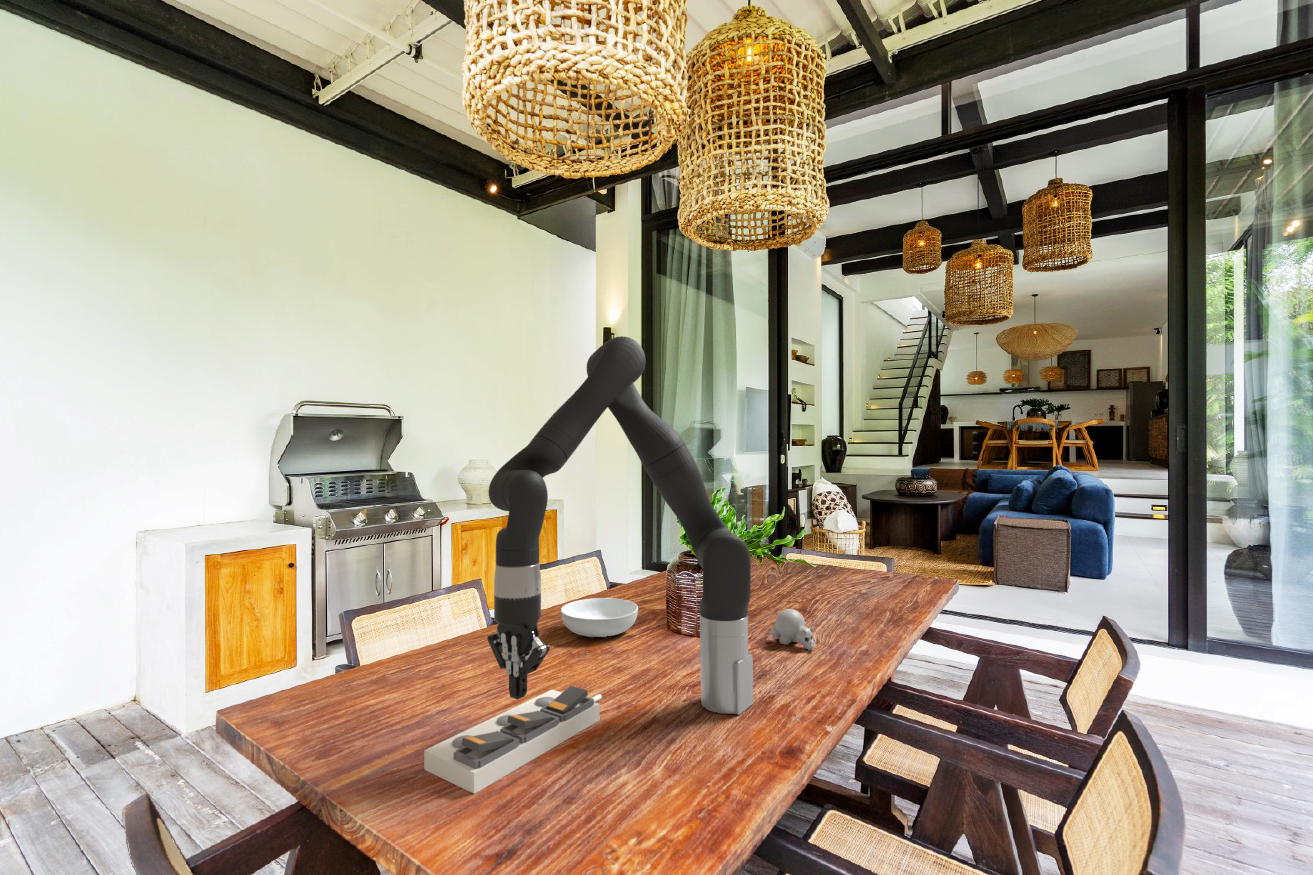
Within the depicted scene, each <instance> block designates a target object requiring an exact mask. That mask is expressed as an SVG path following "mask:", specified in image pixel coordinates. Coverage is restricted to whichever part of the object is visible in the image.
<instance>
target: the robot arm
mask: <svg viewBox="0 0 1313 875" xmlns="http://www.w3.org/2000/svg"><path fill="white" fill-rule="evenodd" d="M646 364H647V363H646V354H645V352H644V350H643V347H642V346H641V345H640V343H639V342H637V341H636V340H635V339H633V338H631V337H630V336H616V337H612V338H610V339H609V340H607V341H606V342H604V343H603V344H602V345H600V346H599V347H598V348H597V349H596V350H595V351H594V352H593V353H592V354H591V355H590V356H589V358H588V359H587V363H586V374H587V377H586V379H585V380H584V381H583V382H582V384H581V385H580V386H579V387H578V388H577V389H576V390H575V391H574V393H573V394H572V395H571V396H570V397H569V398H568V399H567V400H566V401H565V402H564V403H562V404H561V405H560V406H559V408H558V409H557V410H556V411H555V412H554V413H553V414H551V416H550V418H548V420H547V421H546V422H545V423H544V424H543V425H542V427H541V428H540V429H539V430H538V431H537V432H536V434H535V435H534V436H533V438H532V439H531V440H530V441H529V443H528V444H527V445H526V446H525V447H524V448H522V449H521V450H520V451H519V452H517V453H516V454H515V455H514V456H512V457H511V458H510V459H509V460H508V461H507V462H505V464H503V465H502V466H501V467H500V468H499V469H498V470H497V471H496V473H495V474H494V476H493V477H492V479H491V480H490V482H489V486H488V498H489V501H490V503H491V504H492V505H493V506H494V507H495V508H497V509H499V510H501V511H504V512H508V515H507V522H506V527H503V528H501V529H500V530H498V532H497V534H496V537H495V538H496V539H495V570H494V577H493V578H494V579H493V583H494V584H493V594H494V595H493V597H494V598H493V600H494V601H493V602H494V603H493V619H494V621H495V622H496V623H497V625H496V631H495V632H493V634H489V635H487V637H486V638H487V642H488V644H489V647H490V649H491V651H492V653H493V656H494V657H495V660H496V662H497V665H498V667H499V668H500V669H501V670H502V669H505V672H506V674H507V675H508V692H509V697H510V698H512V699H515V700H520V699H522V698H524V697H525V696H526V695H527V692H528V674H531V673H533V672H536V671H537V670H538V668H539V667H540V666H541V663H542V662H543V660H544V659H545V658H546V656H547V654H548V653H549V652H550V649H551V647H550V645H549V643H543V642H542V641H541V639H540V638H539V637H540V631H539V627H538V622H539V620H540V618H541V616H542V574H541V568H540V567H541V566H540V565H541V564H540V537H541V533H542V532H541V531H542V529H543V524H544V520H545V517H546V512H547V507H548V501H549V500H548V499H549V498H548V497H549V496H548V495H549V494H548V487H547V484H546V481H545V480H544V478H545V477H546V476H549V475H551V474H555V473H557V472H558V471H560V470H561V469H562V468H563V467H564V466H565V464H566V463H567V462H568V461H569V459H570V458H571V456H572V455H573V454H574V453H575V451H576V450H577V449H578V447H579V446H580V445H581V443H582V442H583V441H584V439H585V437H586V436H587V435H588V434H589V432H590V430H591V429H592V428H593V427H594V426H595V424H596V423H597V421H598V420H599V419H600V417H601V416H602V415H603V414H604V412H605V411H606V410H607V409H608V410H609V411H610V413H611V414H612V415H613V417H614V418H615V419H616V421H617V422H618V425H619V426H620V428H621V430H622V431H623V433H624V435H625V436H626V438H627V440H628V441H629V443H630V445H631V446H632V448H633V449H634V451H635V454H636V455H637V456H638V459H639V461H640V462H641V464H642V466H643V468H644V470H645V471H646V473H647V475H648V477H649V478H650V480H651V482H652V483H653V485H654V487H655V488H656V489H657V492H658V493H659V494H660V496H661V497H662V499H663V500H664V502H665V503H666V504H667V506H668V507H669V509H671V511H672V512H673V514H674V515H675V517H676V518H677V519H678V521H679V523H680V525H681V527H682V529H683V531H684V533H685V534H686V537H687V539H688V541H689V544H690V545H691V547H692V551H693V553H694V554H695V557H696V560H697V563H698V565H699V566H700V568H701V569H702V596H701V599H700V601H699V639H700V641H699V642H700V643H699V645H700V646H699V648H700V656H699V657H700V700H701V702H700V703H701V705H702V707H703V708H704V707H705V708H706V710H707V711H710V712H713V713H716V712H717V714H723V715H725V714H730V715H731V714H734V715H742V713H744V711H746V710H747V709H749V708H750V707H751V706H752V705H753V704H754V674H753V673H754V672H753V671H754V668H753V667H754V665H753V658H754V657H753V654H752V653H749V627H748V626H749V624H748V623H749V622H748V617H749V615H748V614H749V611H748V610H749V608H748V607H749V605H750V601H751V584H752V582H751V577H752V576H751V575H752V574H751V573H752V572H751V570H752V568H751V567H752V564H751V563H752V562H751V554H750V549H749V547H748V544H746V542H745V541H744V540H743V539H742V537H741V538H740V537H739V536H738V535H736V534H734V533H733V532H731V530H730V529H729V528H728V527H727V526H726V524H725V523H724V522H723V520H722V518H721V517H720V515H719V514H718V512H717V510H716V509H715V508H714V506H713V504H712V502H711V499H710V497H709V496H708V493H707V490H706V487H705V486H706V485H705V482H704V481H703V478H702V474H701V472H700V469H699V467H698V465H697V463H696V461H695V458H694V457H693V455H692V453H691V452H690V450H689V448H688V447H687V445H686V443H685V441H684V440H683V438H682V437H681V435H680V434H679V433H678V432H677V431H676V430H675V428H673V427H672V425H669V424H668V423H667V422H666V421H665V420H663V419H662V418H661V417H660V416H658V415H657V414H656V413H655V412H653V411H652V410H651V409H650V407H649V406H648V405H647V404H646V402H645V401H644V399H643V398H642V396H641V394H640V393H639V391H638V389H637V387H636V385H635V382H637V380H638V379H640V377H641V376H642V375H643V373H644V370H645V368H646ZM705 708H704V709H705Z"/></svg>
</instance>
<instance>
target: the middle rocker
mask: <svg viewBox="0 0 1313 875" xmlns="http://www.w3.org/2000/svg"><path fill="white" fill-rule="evenodd" d="M552 719H553V717H551V716H548V715H545V714H542V713H539V712H529V713H523V714H517V715H510V716H508V721H507V722H508V723H510V724H513V725H516V726H519V727H521V728H530V727H535V726H540V725H545V724H547V723H548V722H550V721H552Z"/></svg>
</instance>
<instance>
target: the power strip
mask: <svg viewBox="0 0 1313 875" xmlns="http://www.w3.org/2000/svg"><path fill="white" fill-rule="evenodd" d="M561 693H563V692H562V691H558V690H556V689H555V690H554V689H550V690H548V691H546V692H544V693H542V694H540V695H538V696H536V697H533V698H531V699H530V700H527V701H524V702H523V703H521V704H519V705H516V706H514V707H512V708H510V709H509V710H508V709H507V710H505V711H504V712H502V713H499V714H498V715H495V716H493V717H491V718H489V719H487V720H485V721H482V722H481V723H479V724H476V725H474V726H472V727H469V728H468V729H466V730H464V731H461V732H459V733H457V734H455V735H453V736H451V737H449V738H447V739H445V740H443V741H440V742H438V743H437V744H434V745H433V746H430V747H428V748H426V749H424V752H423V754H424V757H423V760H424V762H423V763H424V765H423V768H424V770H425V771H427V772H428V773H430V774H432V775H434V776H437V777H439V778H441V779H443V780H445V781H446V782H449V783H452V784H453V785H455V786H457V787H459V788H461V789H464V790H465V791H468V792H470V793H471V794H474V795H475V794H477V793H478V792H480V791H482V790H484V789H485V788H487V787H489V786H491V785H492V784H494V783H495V782H497V781H499V780H500V779H502V778H504V777H506V776H507V775H509V774H511V773H512V772H514V771H516V770H517V769H520V768H521V767H522V766H524V765H526V764H528V763H529V762H531V761H533V760H534V759H536V758H538V757H540V756H541V755H543V754H545V753H547V752H549V750H551V749H553V748H555V747H557V746H558V745H560V744H561V743H563V742H565V741H567V740H568V739H570V738H572V737H574V736H575V735H577V734H578V733H580V732H582V731H584V730H586V729H587V728H589V727H591V726H592V725H594V724H596V723H598V722H599V721H600V720H601V718H600V712H601V711H600V703H599V702H598V701H600V700H601V699H603V698H602V697H603V696H602V694H601V693H597V694H596V695H595V696H592V697H589V696H587V697H585V698H584V699H583V700H582V701H581V702H580V703H579V704H578V705H577V706H575V707H574V708H573V709H572V710H571V711H569V712H567V713H565V714H560V713H557V712H554V711H551V710H548V709H547V705H549V704H550V703H551V702H552V701H553V700H554V699H556V698H557V697H558V696H559V695H560V694H561ZM529 712H539V713H542V714H545V715H548V716H551V717H553V719H552V721H550V722H548V723H547V724H545V725H540V726H535V727H530V728H521V727H519V726H516V725H513V724H510V723H508V722H507V721H508V716H510V715H517V714H523V713H529ZM493 732H496V733H499V734H501V735H504V736H507V737H509V738H512V742H511V743H509V744H507V745H506V746H504V747H501V748H497V749H492V750H487V751H483V752H477V751H474V750H472V749H470V748H467V747H465V746H462V739H463V738H465V737H470V736H476V735H482V734H487V733H493Z"/></svg>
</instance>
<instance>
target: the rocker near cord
mask: <svg viewBox="0 0 1313 875" xmlns="http://www.w3.org/2000/svg"><path fill="white" fill-rule="evenodd" d="M585 697H589V694H588V689H587V690H586V689H583V688H581V687H577V686H573V685H569V687H567V688H566V689H565V690H564V691H563V692H562V693H561V694H560V695H559V696H558V697H557V698H556V699H554V700H553V701H552V702H551V703H550V704H549V705H547V709H548V710H551V711H554V712H557V713H560V714H565V713H567V712H569V711H571V710H572V709H573V708H574V707H575V706H577V705H578V704H579V703H580V702H581V701H582V700H583V699H584V698H585Z"/></svg>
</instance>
